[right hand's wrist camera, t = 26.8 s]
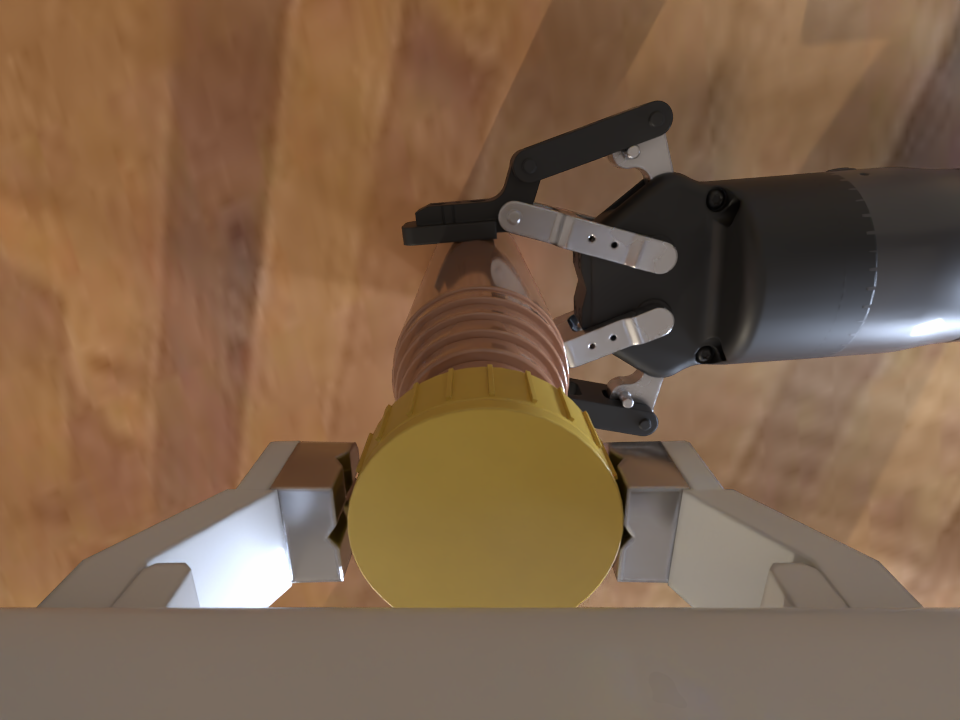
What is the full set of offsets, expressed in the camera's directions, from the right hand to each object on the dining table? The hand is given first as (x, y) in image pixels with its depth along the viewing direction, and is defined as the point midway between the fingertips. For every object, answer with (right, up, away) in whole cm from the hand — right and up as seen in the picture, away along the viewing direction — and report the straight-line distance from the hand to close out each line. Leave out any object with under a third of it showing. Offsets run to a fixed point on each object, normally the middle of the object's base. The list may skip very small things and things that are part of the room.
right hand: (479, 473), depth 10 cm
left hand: (-3, +5, +13) cm, 14 cm away
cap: (0, 0, -2) cm, 2 cm away
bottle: (0, +7, +19) cm, 20 cm away
